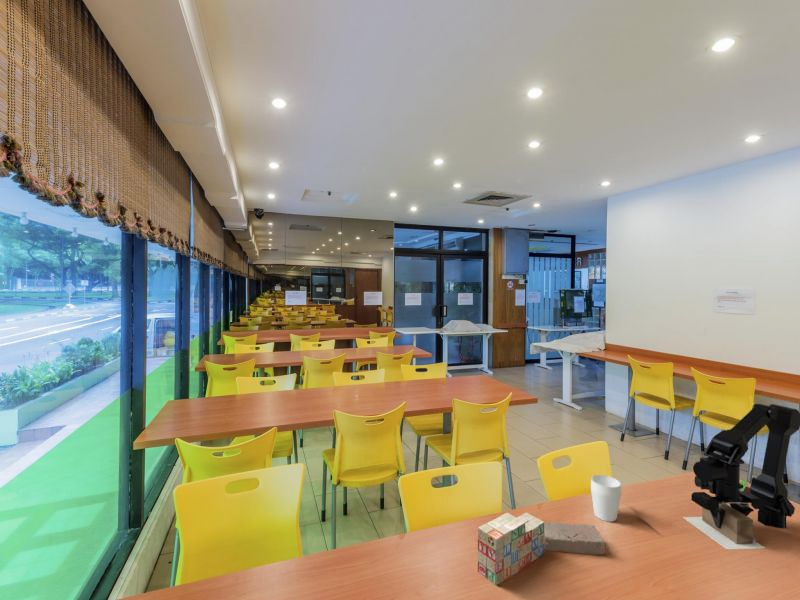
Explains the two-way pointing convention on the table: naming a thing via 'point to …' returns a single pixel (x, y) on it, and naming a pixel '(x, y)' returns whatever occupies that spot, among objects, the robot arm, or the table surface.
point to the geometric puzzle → (744, 486)
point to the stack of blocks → (509, 545)
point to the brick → (573, 538)
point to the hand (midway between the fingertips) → (726, 527)
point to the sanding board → (720, 535)
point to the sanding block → (732, 525)
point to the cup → (605, 497)
